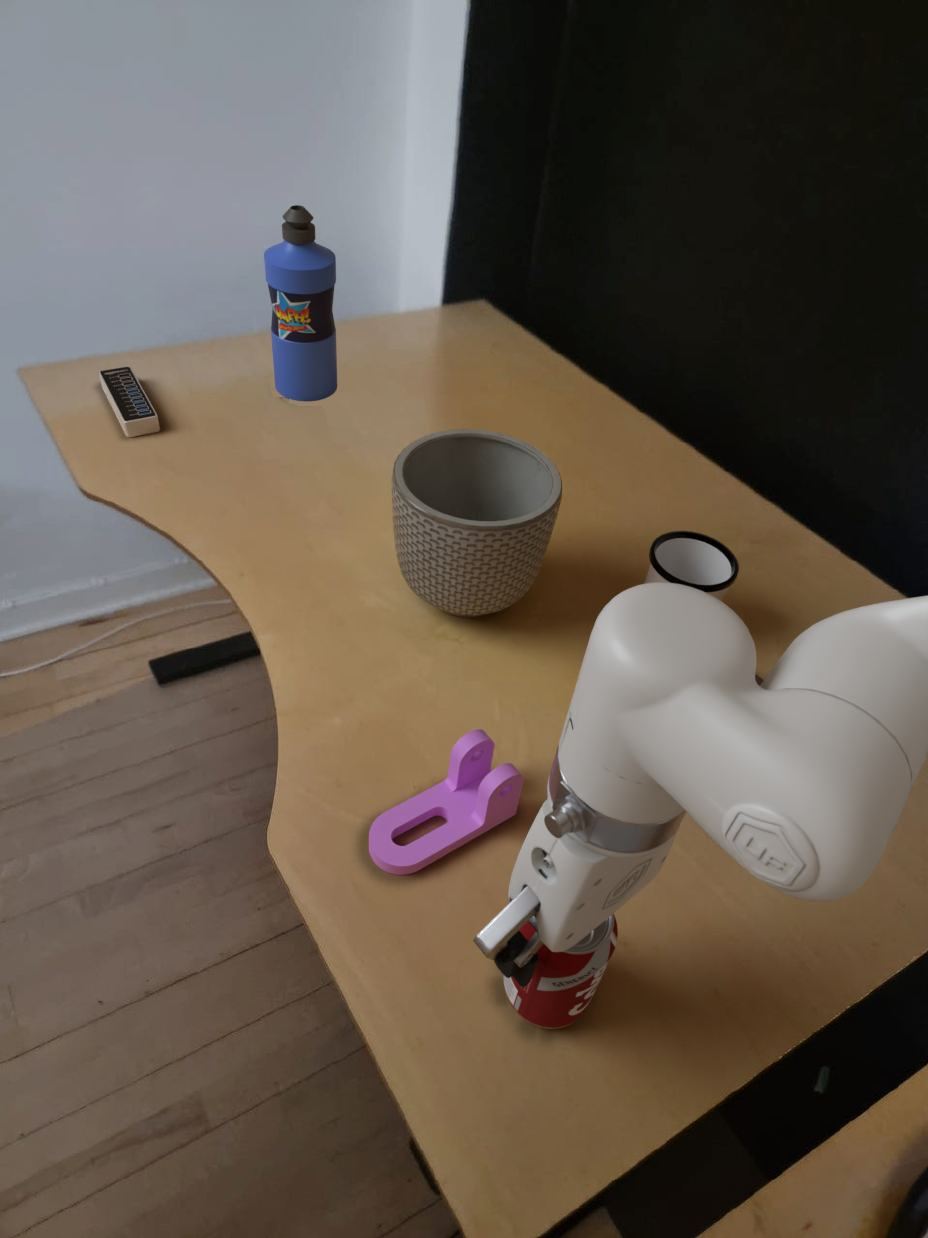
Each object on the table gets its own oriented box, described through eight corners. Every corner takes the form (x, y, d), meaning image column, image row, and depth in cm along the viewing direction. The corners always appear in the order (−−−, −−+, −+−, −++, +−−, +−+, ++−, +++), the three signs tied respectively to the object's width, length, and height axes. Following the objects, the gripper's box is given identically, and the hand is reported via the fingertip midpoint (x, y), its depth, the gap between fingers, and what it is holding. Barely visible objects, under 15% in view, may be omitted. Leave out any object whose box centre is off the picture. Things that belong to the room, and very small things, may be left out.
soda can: (496, 1022, 62) (517, 951, 54) (507, 935, 67) (528, 857, 59) (586, 1041, 62) (622, 972, 54) (592, 952, 67) (625, 876, 59)
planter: (432, 526, 104) (441, 410, 93) (562, 575, 99) (588, 460, 88) (358, 609, 92) (358, 488, 81) (502, 669, 88) (523, 550, 77)
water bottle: (323, 407, 121) (316, 226, 104) (263, 393, 122) (246, 212, 105) (347, 377, 128) (345, 202, 110) (290, 364, 129) (279, 189, 112)
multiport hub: (127, 437, 112) (123, 422, 110) (101, 385, 120) (97, 370, 119) (161, 431, 113) (158, 415, 112) (133, 380, 122) (130, 365, 120)
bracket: (479, 770, 78) (487, 723, 74) (515, 814, 75) (526, 768, 71) (356, 835, 72) (356, 789, 68) (390, 886, 69) (393, 841, 65)
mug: (664, 659, 91) (687, 597, 84) (614, 603, 97) (632, 541, 90) (748, 629, 95) (776, 568, 89) (696, 577, 101) (718, 516, 95)
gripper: (552, 927, 40) (504, 1053, 52) (769, 754, 48) (685, 896, 61) (453, 814, 44) (429, 956, 56) (670, 672, 52) (610, 821, 64)
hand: (562, 924), depth 58 cm, fingers open, 9 cm apart
